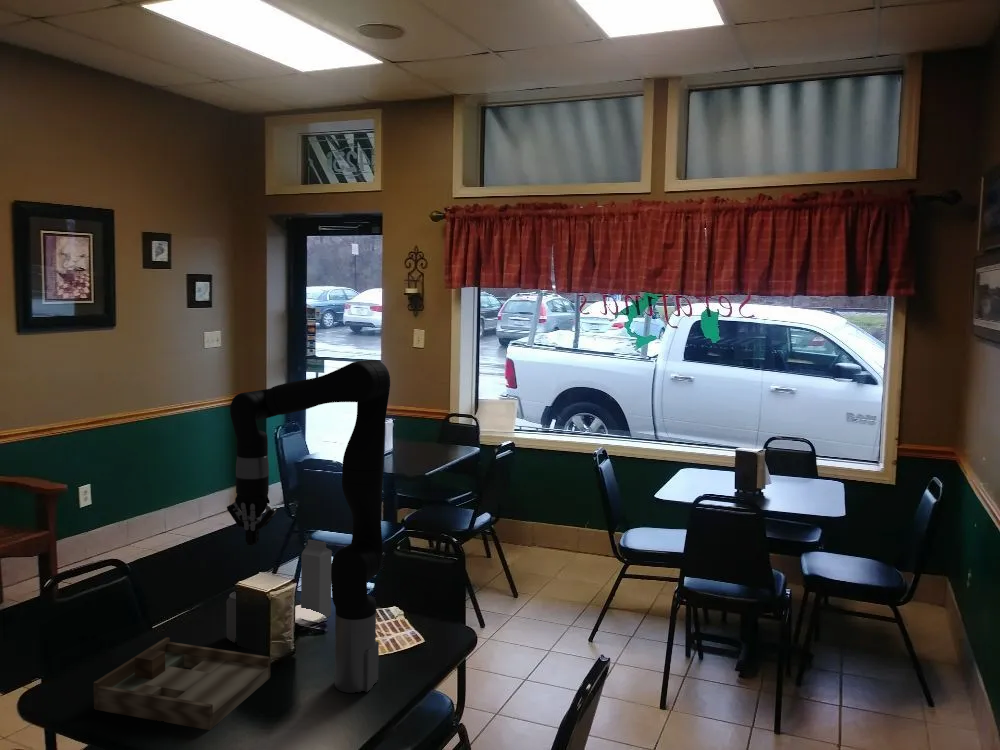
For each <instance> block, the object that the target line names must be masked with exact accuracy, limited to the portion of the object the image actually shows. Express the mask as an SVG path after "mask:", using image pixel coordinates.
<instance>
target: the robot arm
mask: <svg viewBox="0 0 1000 750" xmlns="http://www.w3.org/2000/svg"><path fill="white" fill-rule="evenodd" d="M390 390H391V376H390V372H389V370H388V368H387V366H386V365H385V364H384V363H383V362H382V361H379V360H377V359H366V360H358V361H357V360H356V361H353V362H350V363H349V364H346V365H344V366H342V367H340V368H337V369H336V370H333V371H330V372H328V373H327V374H323V375H320V376H317V377H314V378H306V379H299V380H296V381H290V382H287V383H282V384H278V385H274V386H272V387H271V388H266V389H260V390H254V391H246V392H240V393H238V394H236V395H235V396H233V398H232V401H231V403H230V407H229V413H230V414H229V415H230V419H231V423H232V425H233V426H232V427H233V430H234V433H235V437H236V440H237V441H236V464H235V493H236V497H235V499H234V502H233V503H231V504H229V505H227V506H226V509H227V512H228V513H229V514H230V516H231V517H232V519H233V520H234V521H235V524H236V525H237V527H239V528H243V529H244V530H245V542H246V544H247V546H252V547H253V546H255V545H257V544H258V543H259V542H260V530H261V529H263V528H265V527H266V526H267V525H268V524H269V523H270V521H271V520H273V518H274V517H275V515H276V514H277V513H278V512H279V509H278V507H276V506H275V507H274V506H272V504H270V503H271V502H270V498H269V497H268V496H269V489H270V488H269V484H270V483H269V481H270V480H269V479H270V477H269V474H270V472H269V471H270V469H269V468H270V467H269V456H268V453H269V452H268V451H269V450H268V449H269V447H268V444H269V443H268V434H267V433H266V432H265V431H264V430H261V429H258V425H257V421H261V420H264V419H269V418H272V417H275V416H279V415H281V416H282V415H287V414H289V415H290V414H292V413H297V412H302V411H305V410H309V409H311V408H315V407H317V406H320V405H325V404H333V403H356V404H357V405H356V419H355V422H354V423H355V424H354V427H353V430H352V433H351V434H350V437H349V439H348V442H347V445H346V447H345V450H344V453H343V457H342V458H343V459H342V468H341V469H342V472H341V473H342V474H341V488H342V492H343V495H344V496H343V497H344V498H345V501H346V503H347V505H348V508H349V510H350V512H351V515H352V536H351V542H350V544H348V545H347V546H346V545H345V546H344V547H343V548H340V549H339V550H338V551H336V552H335V554H334V555H333V556H332V565H331V600H332V602H333V605H334V608H335V609H334V610H335V621H334V622H335V625H334V626H335V627H334V629H335V630H334V631H335V632H334V687H335V688H336V689H337V691H340V692H343V693H346V694H347V693H350V694H356V693H355V692H358V693H362V692H361V691H365V692H364V693H369V692H370V691H371V690H372V688H373V687H374V686H375V685H376V684H375V683H377V682H378V681H379V656H380V655H379V650H380V649H379V647H380V643H379V641H377V640H376V638H377V637H376V635H377V634H376V632H377V629H376V628H377V601H376V599H375V597H373V596H371V595H369V594H368V581H370V580H372V579H373V578H375V577H376V576H377V575H378V574H379V573H380V571H381V570H382V567H383V562H384V547H383V534H382V533H383V532H382V507H383V500H382V499H383V483H384V463H385V462H384V456H385V455H384V451H385V435H386V433H385V432H386V431H385V430H386V429H385V428H386V417H387V410H388V403H389V396H390ZM263 513H264V514H265V515H264V517H263ZM377 680H378V681H377ZM374 684H375V685H374ZM373 685H374V686H373ZM369 690H370V691H369ZM368 691H369V692H368Z"/></svg>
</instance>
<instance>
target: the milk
mask: <svg viewBox="0 0 1000 750" xmlns="http://www.w3.org/2000/svg"><path fill="white" fill-rule="evenodd" d="M332 552H333V551H332V550H331V549H329V548H327V543H326V542H325V541H321V540H314V539H307V545H306V546H305V547H304V549H303V551H302V552H301V555H300V556H301V559H300V561H301V564H300V565H301V567H300V568H301V569H300V570H301V576H300V578H301V580H300V582H301V583H300V609H301V608H306V609H311V610H313V611H316V612H319V613H321V614H323V615H325V616H326V617H328V618H330V617H331V616H332V584H331V565H332V560H333V556H332V554H333V553H332ZM329 616H330V617H329Z"/></svg>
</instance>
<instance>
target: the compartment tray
mask: <svg viewBox="0 0 1000 750" xmlns="http://www.w3.org/2000/svg"><path fill="white" fill-rule="evenodd" d="M147 649H151V650H157V651H164V652H165V671H164V672H163V673H161V674H160V675H158V676H157V677H155V678H154V679H146V678H140V677H135V657H136V656H138V655H139V654H141V653H143V652H144V651H146V650H147ZM136 656H134V657H132V658H131V659H129V660H127V661H125V662H124V663H122V664H120V665H119V666H118V667H116V668H114V669H113V670H111V671H110V672H108V673H106V674H104V676H102V677H100V678H99V679H97V680H95V681H93V710H94V709H95V711H101V712H106V713H112V714H118V715H124V716H129V717H135V718H140V719H144V720H145V719H146V720H151V721H156V720H157V722H161V721H164V722H163V723H168V724H173V725H174V724H175V725H178V726H184V727H185V726H186V727H191V728H197V729H201V730H208V731H211V730H212V729H213V728H214V727H215V726H217V725H218V724H219V723H220V722H221V721H222V720H223V719H225V718H226V717H227V716H228V715H229V714H231V712H232V711H234V710H235V709H236V708H237V707H239V705H241V704H242V703H243V702H244V701H245V700H246V699H247V698H249V697H250V696H251V695H252V694H253V693H254V692H255V691H257V690H258V689H259V688H260V687H262V686H263V685H264V684H265V683H266V682H267V681H268V680H269V679H270V678H271V656H266V655H260V654H254V653H248V652H241V651H240V652H239V651H233V650H226V649H221V648H220V649H219V648H212V647H207V646H200V645H194V644H186V643H179V642H173V641H170V637H167V636H166V637H164V638H162V639H161V640H159V641H158V642H157V643H154V644H153V645H151V646H150V647H148V648H146V649H145V650H143V651H142V652H140V653H138V654H137V655H136Z"/></svg>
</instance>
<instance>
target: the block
mask: <svg viewBox="0 0 1000 750" xmlns="http://www.w3.org/2000/svg"><path fill="white" fill-rule="evenodd" d="M146 649H147V650H146ZM146 649H145V650H146V651H145V650H143V651H144V652H143V651H142V652H143V653H142V652H140V653H141V654H140V653H138V654H139V655H138V654H137V655H138V656H137V655H136V657H135V656H134V657H135V677H140V678H146V679H154V678H155V677H157V676H158V675H160V674H161V673H163V672H164V671H165V652H164V651H157V650H151V649H148V648H146Z"/></svg>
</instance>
